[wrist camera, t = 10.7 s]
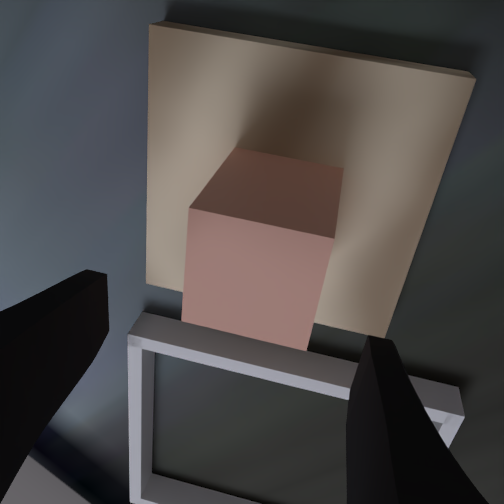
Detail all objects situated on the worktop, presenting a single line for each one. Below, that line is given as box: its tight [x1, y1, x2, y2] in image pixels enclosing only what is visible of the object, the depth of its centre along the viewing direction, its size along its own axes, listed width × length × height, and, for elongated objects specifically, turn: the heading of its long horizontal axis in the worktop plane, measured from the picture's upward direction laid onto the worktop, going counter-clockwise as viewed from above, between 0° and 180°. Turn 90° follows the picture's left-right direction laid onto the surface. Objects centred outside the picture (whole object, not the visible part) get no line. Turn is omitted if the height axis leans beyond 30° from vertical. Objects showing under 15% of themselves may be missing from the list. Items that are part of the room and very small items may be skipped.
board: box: [146, 21, 476, 338], centre depth 21 cm, size 12×12×2 cm
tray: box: [128, 312, 465, 504], centre depth 30 cm, size 18×16×2 cm
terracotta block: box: [181, 147, 344, 351], centre depth 18 cm, size 4×4×6 cm
